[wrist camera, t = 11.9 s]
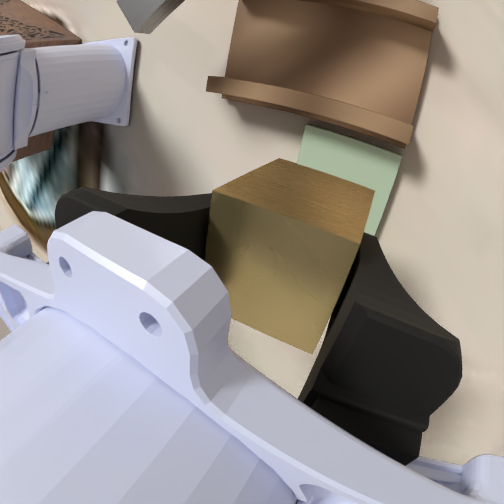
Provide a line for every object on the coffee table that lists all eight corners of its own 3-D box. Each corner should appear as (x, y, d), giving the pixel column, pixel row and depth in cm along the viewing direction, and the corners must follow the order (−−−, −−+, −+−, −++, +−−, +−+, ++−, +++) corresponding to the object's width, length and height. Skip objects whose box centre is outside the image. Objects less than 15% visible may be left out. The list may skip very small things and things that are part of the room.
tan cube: (261, 242, 14) (200, 303, 10) (279, 158, 12) (212, 190, 8) (344, 275, 13) (312, 354, 9) (375, 190, 11) (360, 243, 7)
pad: (288, 209, 21) (285, 212, 20) (308, 124, 18) (305, 124, 17) (371, 241, 19) (370, 244, 19) (402, 155, 16) (402, 156, 16)
